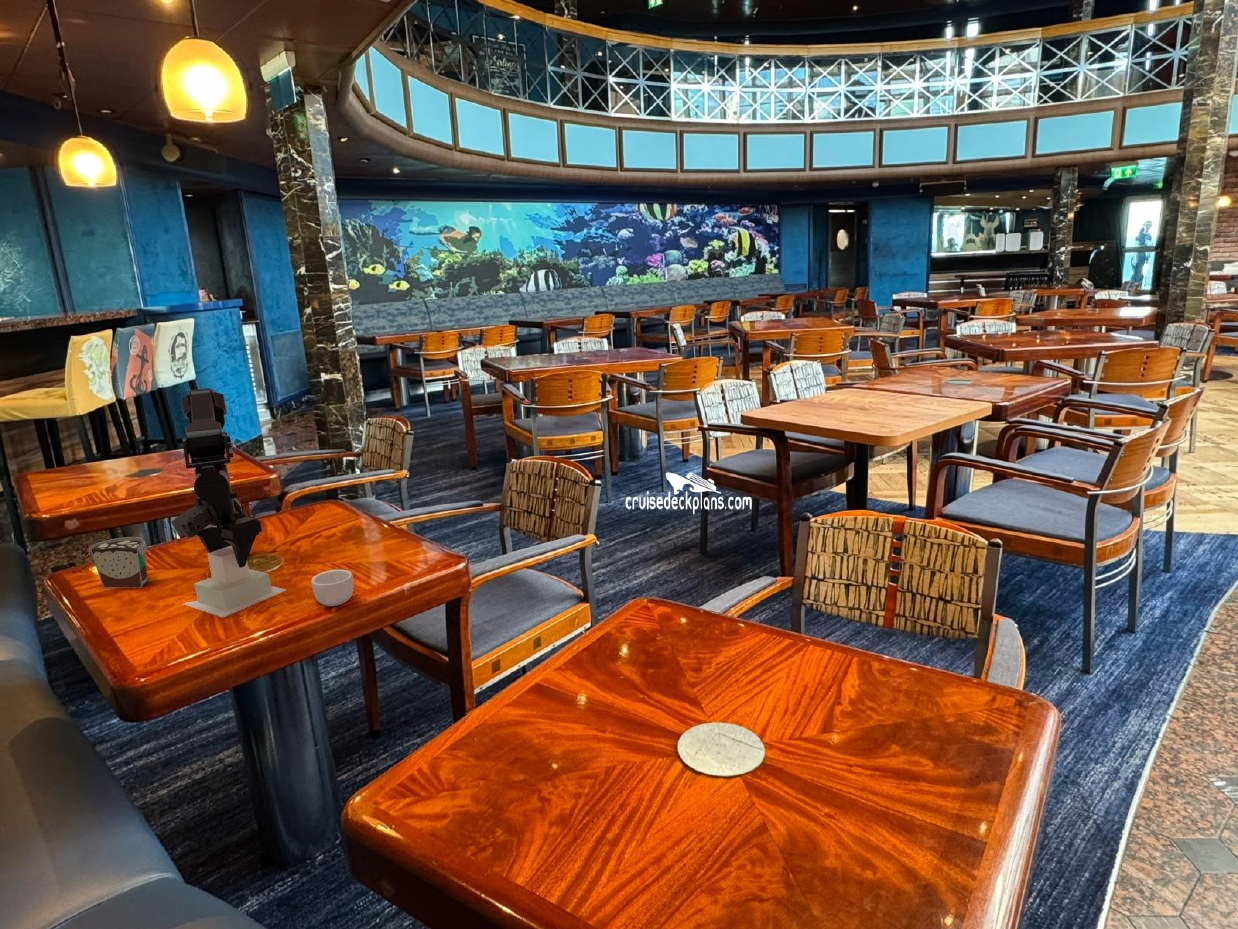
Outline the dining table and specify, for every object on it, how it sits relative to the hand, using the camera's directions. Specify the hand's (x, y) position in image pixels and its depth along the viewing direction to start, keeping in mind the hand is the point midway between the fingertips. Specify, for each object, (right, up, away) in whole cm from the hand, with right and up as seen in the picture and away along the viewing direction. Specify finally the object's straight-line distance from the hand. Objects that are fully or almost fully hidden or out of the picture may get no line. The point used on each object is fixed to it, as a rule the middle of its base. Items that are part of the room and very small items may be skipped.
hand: (228, 563), depth 150 cm
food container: (-30, -7, +16) cm, 34 cm away
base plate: (0, -8, +2) cm, 8 cm away
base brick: (0, -7, +2) cm, 7 cm away
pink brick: (0, -3, +1) cm, 3 cm away
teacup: (+21, -8, 0) cm, 23 cm away
